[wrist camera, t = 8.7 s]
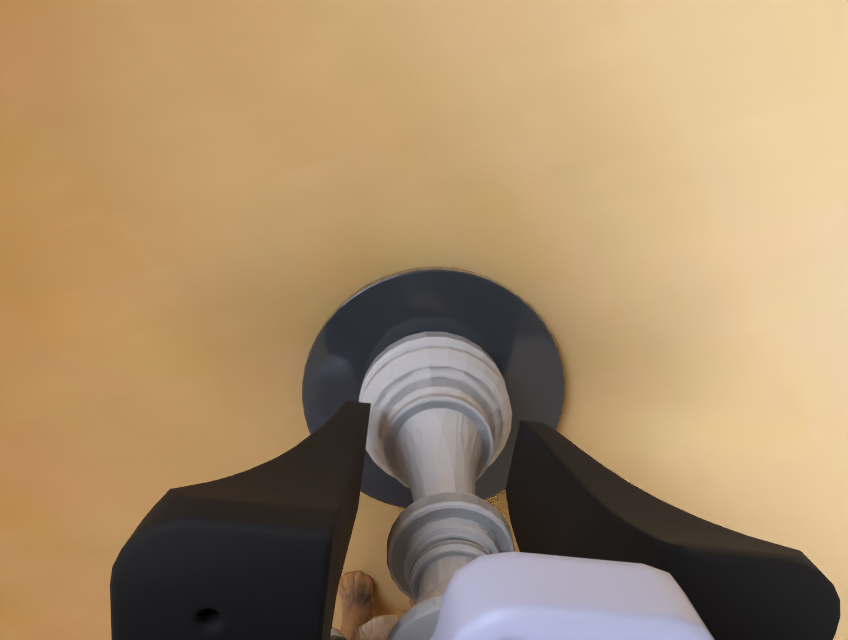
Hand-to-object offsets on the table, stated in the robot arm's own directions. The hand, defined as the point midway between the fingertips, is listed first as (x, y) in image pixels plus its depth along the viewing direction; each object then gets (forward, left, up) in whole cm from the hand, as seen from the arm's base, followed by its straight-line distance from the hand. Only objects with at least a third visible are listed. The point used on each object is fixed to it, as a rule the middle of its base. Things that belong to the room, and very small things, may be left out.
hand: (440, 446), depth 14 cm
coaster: (0, 0, -3) cm, 3 cm away
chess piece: (0, 0, -3) cm, 3 cm away
